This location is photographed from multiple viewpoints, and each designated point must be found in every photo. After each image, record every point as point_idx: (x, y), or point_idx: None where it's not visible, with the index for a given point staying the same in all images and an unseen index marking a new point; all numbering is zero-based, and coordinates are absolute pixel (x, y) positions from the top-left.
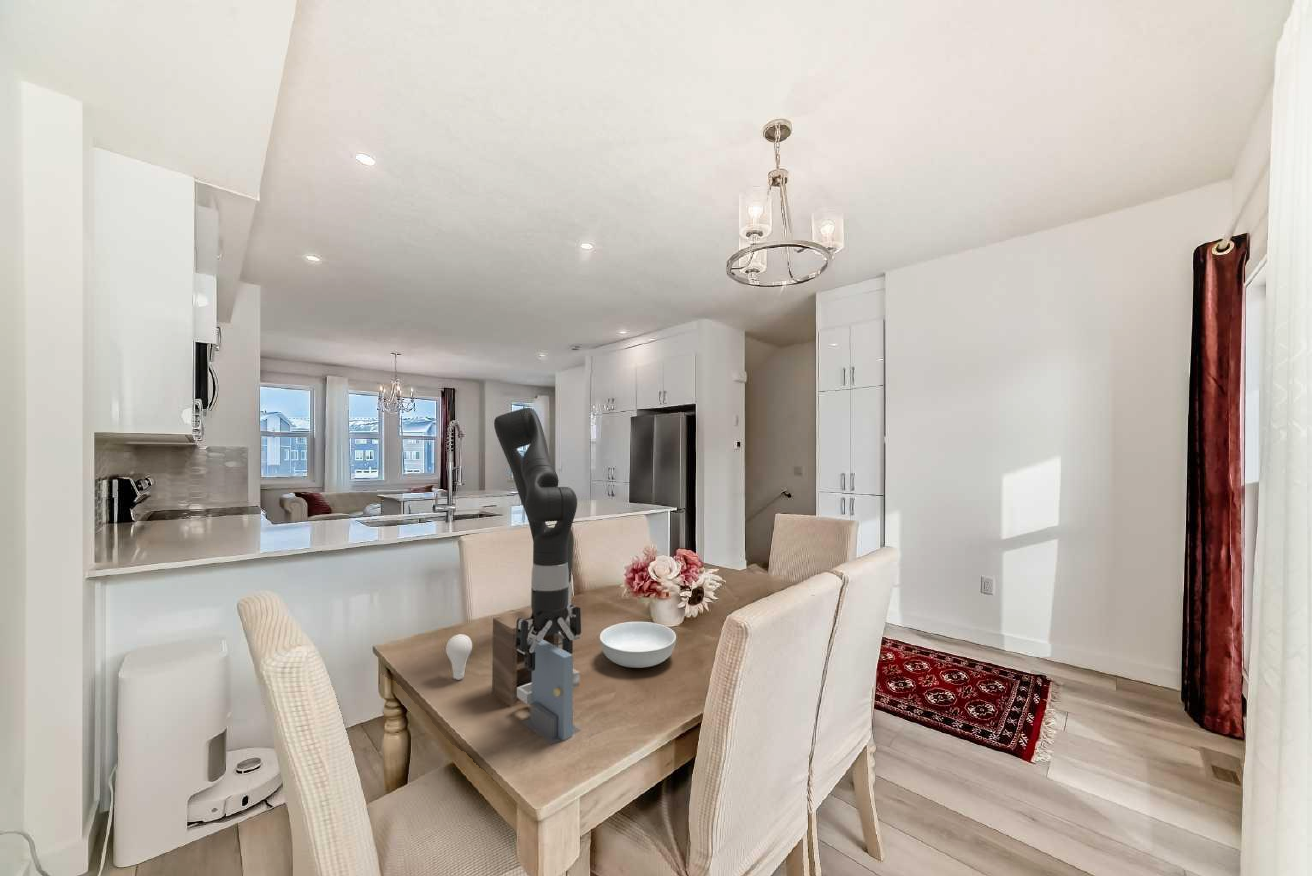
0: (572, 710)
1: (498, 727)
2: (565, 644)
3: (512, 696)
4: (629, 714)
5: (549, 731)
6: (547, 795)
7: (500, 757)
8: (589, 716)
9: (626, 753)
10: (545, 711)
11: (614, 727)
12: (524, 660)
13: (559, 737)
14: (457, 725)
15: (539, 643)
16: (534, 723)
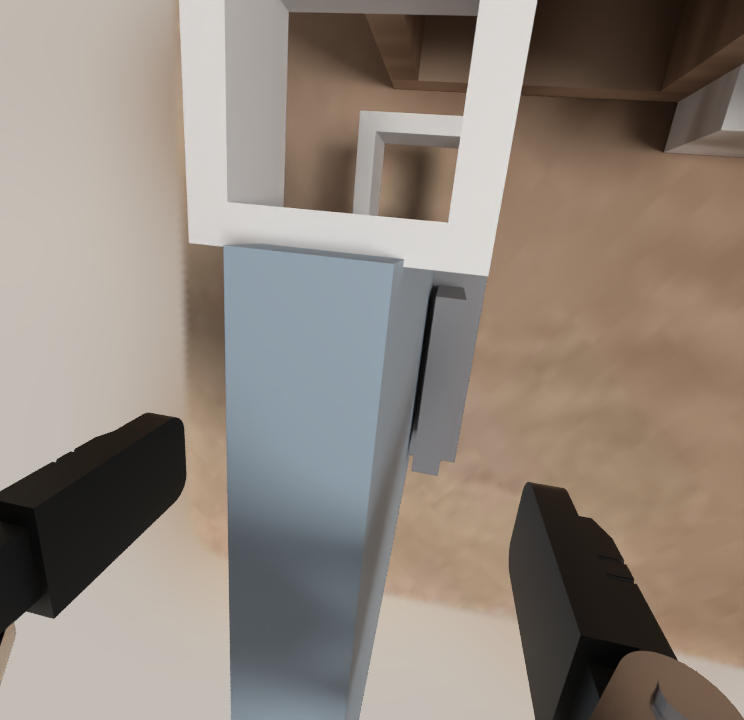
0: (436, 473)
1: (287, 171)
2: (543, 639)
3: (389, 61)
4: (685, 506)
5: None
6: (225, 545)
7: (210, 340)
8: (576, 394)
9: (471, 607)
10: None
11: None
12: (63, 455)
13: None
14: (177, 14)
15: (247, 437)
16: None
